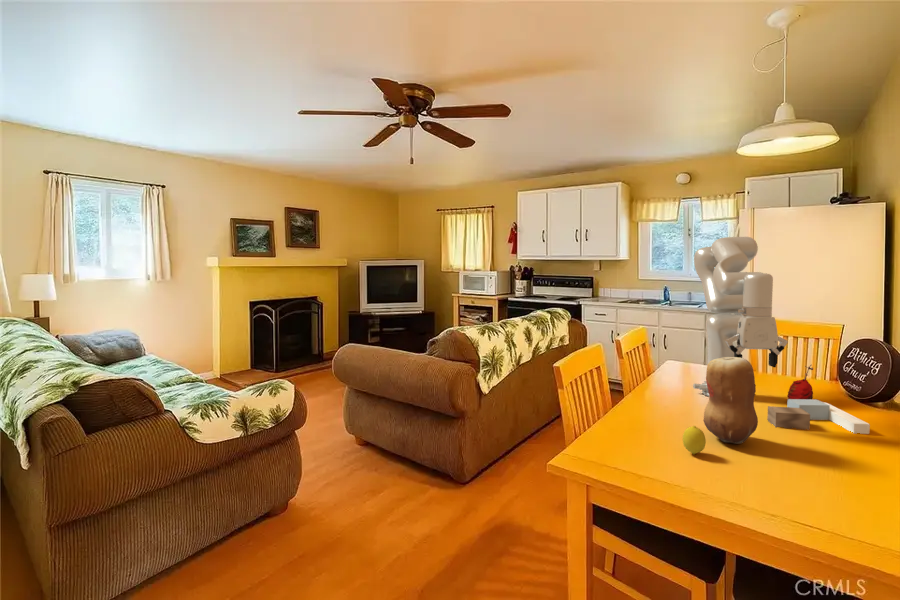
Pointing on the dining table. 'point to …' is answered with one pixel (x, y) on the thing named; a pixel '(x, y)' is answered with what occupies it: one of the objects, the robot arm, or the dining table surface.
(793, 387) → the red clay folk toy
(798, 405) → the slate block
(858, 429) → the stop rail
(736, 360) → the butternut squash
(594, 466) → the dining table surface
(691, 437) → the lemon
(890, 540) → the dining table surface
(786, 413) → the walnut block
